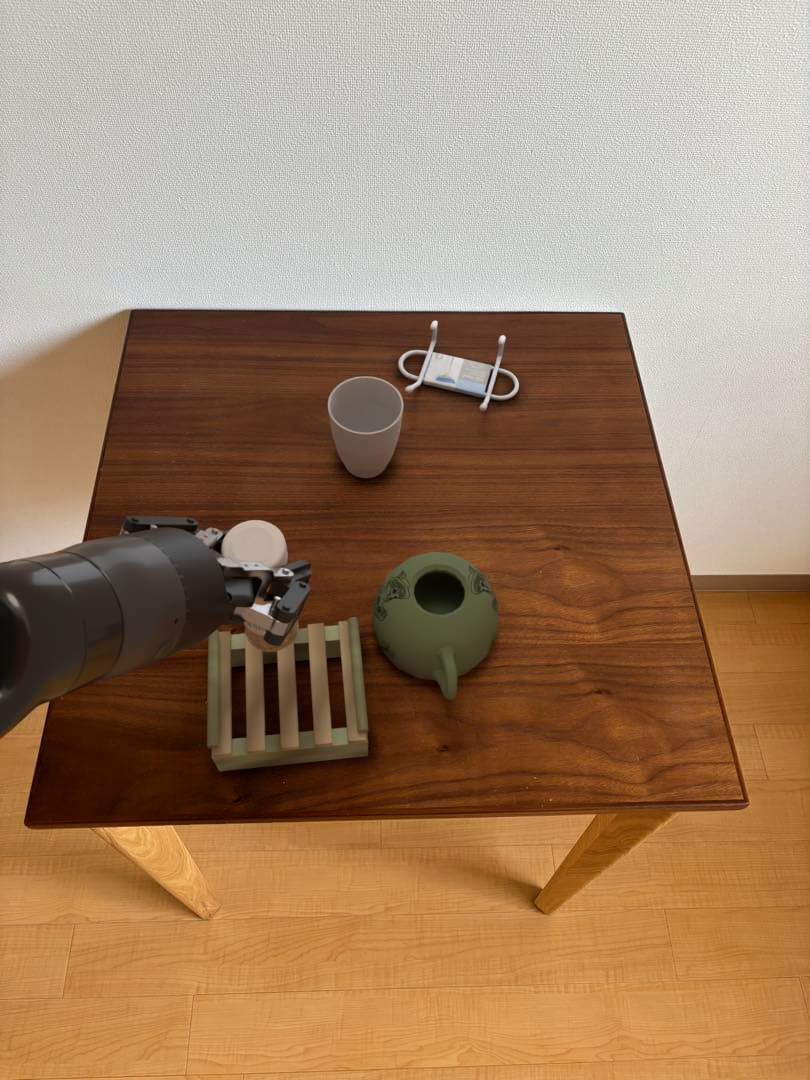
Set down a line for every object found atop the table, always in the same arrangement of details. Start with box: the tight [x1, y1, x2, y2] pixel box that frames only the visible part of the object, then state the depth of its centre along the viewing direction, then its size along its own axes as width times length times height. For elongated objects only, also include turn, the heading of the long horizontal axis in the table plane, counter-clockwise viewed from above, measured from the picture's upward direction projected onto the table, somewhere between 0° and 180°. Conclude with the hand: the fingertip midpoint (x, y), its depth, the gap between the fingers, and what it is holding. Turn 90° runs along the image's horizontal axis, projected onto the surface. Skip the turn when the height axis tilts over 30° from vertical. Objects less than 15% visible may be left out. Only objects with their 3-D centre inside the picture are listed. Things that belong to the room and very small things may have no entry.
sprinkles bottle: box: [221, 519, 300, 652], centre depth 63 cm, size 5×5×14 cm
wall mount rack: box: [397, 320, 520, 412], centre depth 100 cm, size 16×14×6 cm
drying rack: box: [206, 616, 369, 772], centre depth 77 cm, size 14×12×6 cm
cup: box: [327, 375, 404, 479], centre depth 92 cm, size 8×8×10 cm
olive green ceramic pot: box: [371, 551, 499, 701], centre depth 80 cm, size 16×13×9 cm
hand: (274, 557), depth 62 cm, fingers closed on sprinkles bottle, 4 cm apart
